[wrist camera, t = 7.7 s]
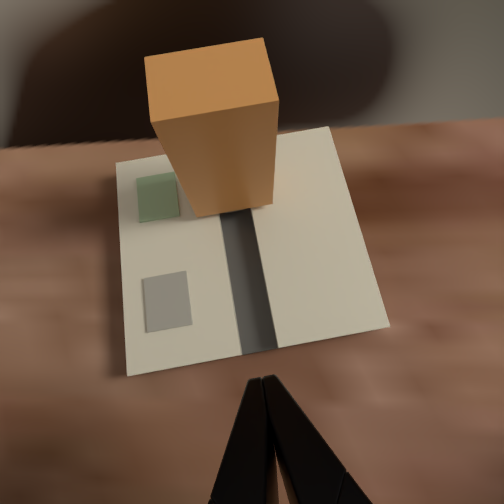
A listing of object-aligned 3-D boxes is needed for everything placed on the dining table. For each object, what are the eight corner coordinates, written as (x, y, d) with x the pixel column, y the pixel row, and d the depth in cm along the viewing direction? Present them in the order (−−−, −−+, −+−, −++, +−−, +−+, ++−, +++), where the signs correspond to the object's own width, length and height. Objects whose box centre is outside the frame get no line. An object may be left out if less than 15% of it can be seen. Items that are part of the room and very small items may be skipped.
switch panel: (380, 328, 18) (391, 326, 17) (137, 374, 18) (125, 376, 16) (324, 141, 22) (329, 124, 21) (125, 175, 22) (114, 161, 20)
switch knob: (272, 212, 20) (279, 100, 11) (200, 225, 20) (150, 122, 11) (263, 171, 21) (262, 37, 12) (194, 183, 21) (144, 57, 12)
